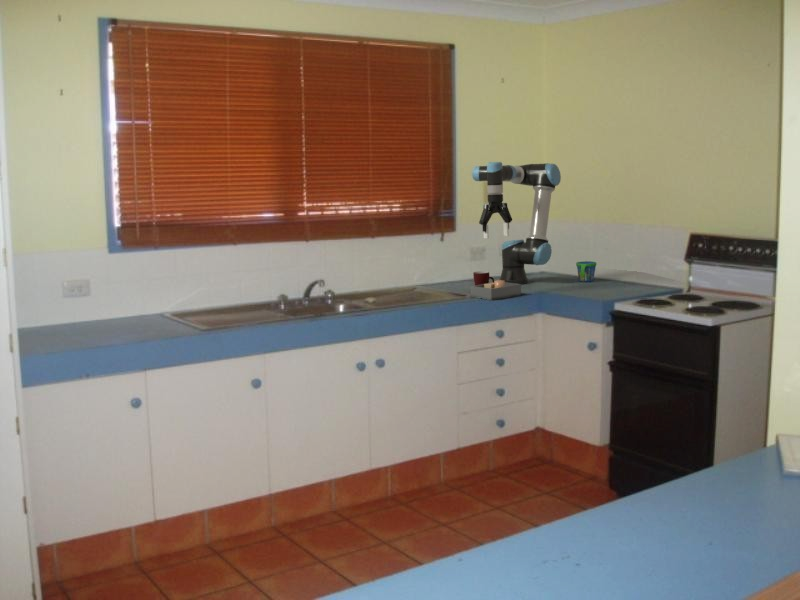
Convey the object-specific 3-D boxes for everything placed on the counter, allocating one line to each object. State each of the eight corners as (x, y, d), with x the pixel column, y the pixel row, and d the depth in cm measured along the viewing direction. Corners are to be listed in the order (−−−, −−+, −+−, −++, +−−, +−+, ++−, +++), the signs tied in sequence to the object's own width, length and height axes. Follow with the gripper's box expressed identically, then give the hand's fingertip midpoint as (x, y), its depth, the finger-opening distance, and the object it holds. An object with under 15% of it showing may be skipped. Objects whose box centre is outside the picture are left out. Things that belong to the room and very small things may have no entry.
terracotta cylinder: (507, 294, 440) (506, 280, 439) (499, 296, 437) (499, 281, 436) (500, 293, 444) (499, 279, 443) (492, 295, 441) (492, 280, 440)
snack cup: (590, 283, 471) (590, 264, 469) (571, 283, 476) (571, 264, 475) (600, 279, 484) (600, 261, 482) (582, 279, 490) (582, 260, 488)
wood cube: (491, 292, 448) (491, 282, 448) (498, 293, 445) (498, 283, 444) (484, 293, 445) (484, 283, 445) (491, 294, 442) (491, 284, 441)
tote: (500, 292, 455) (499, 281, 454) (521, 295, 443) (521, 284, 442) (470, 297, 443) (470, 286, 442) (491, 300, 431) (491, 289, 430)
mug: (492, 289, 464) (491, 270, 463) (496, 291, 456) (495, 272, 455) (472, 291, 463) (471, 271, 461) (475, 293, 455) (475, 273, 453)
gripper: (508, 192, 450) (509, 234, 454) (471, 195, 435) (472, 238, 439) (518, 192, 444) (519, 235, 448) (481, 195, 429) (482, 239, 433)
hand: (496, 237), depth 443 cm, fingers open, 13 cm apart
